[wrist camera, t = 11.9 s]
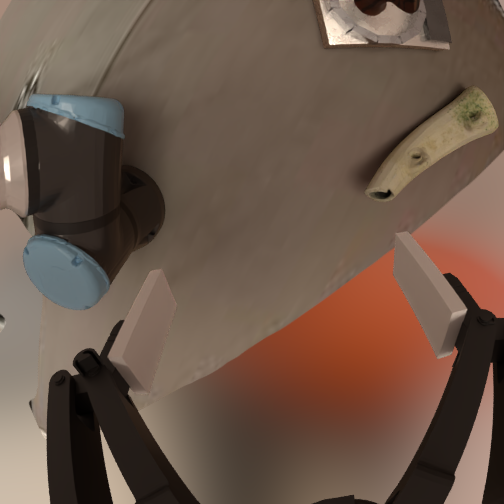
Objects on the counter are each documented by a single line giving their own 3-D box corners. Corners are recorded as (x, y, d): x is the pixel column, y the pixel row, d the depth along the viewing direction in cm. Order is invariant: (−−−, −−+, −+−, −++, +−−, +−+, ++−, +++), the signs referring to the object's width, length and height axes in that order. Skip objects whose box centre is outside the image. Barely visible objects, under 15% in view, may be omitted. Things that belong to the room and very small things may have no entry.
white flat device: (324, 49, 36) (334, 43, 31) (304, -30, 29) (310, -46, 23) (437, 52, 34) (458, 50, 28) (419, -22, 27) (437, -32, 21)
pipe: (460, 81, 36) (496, 85, 27) (480, 120, 39) (515, 131, 30) (346, 172, 46) (365, 193, 37) (374, 209, 49) (395, 235, 40)
